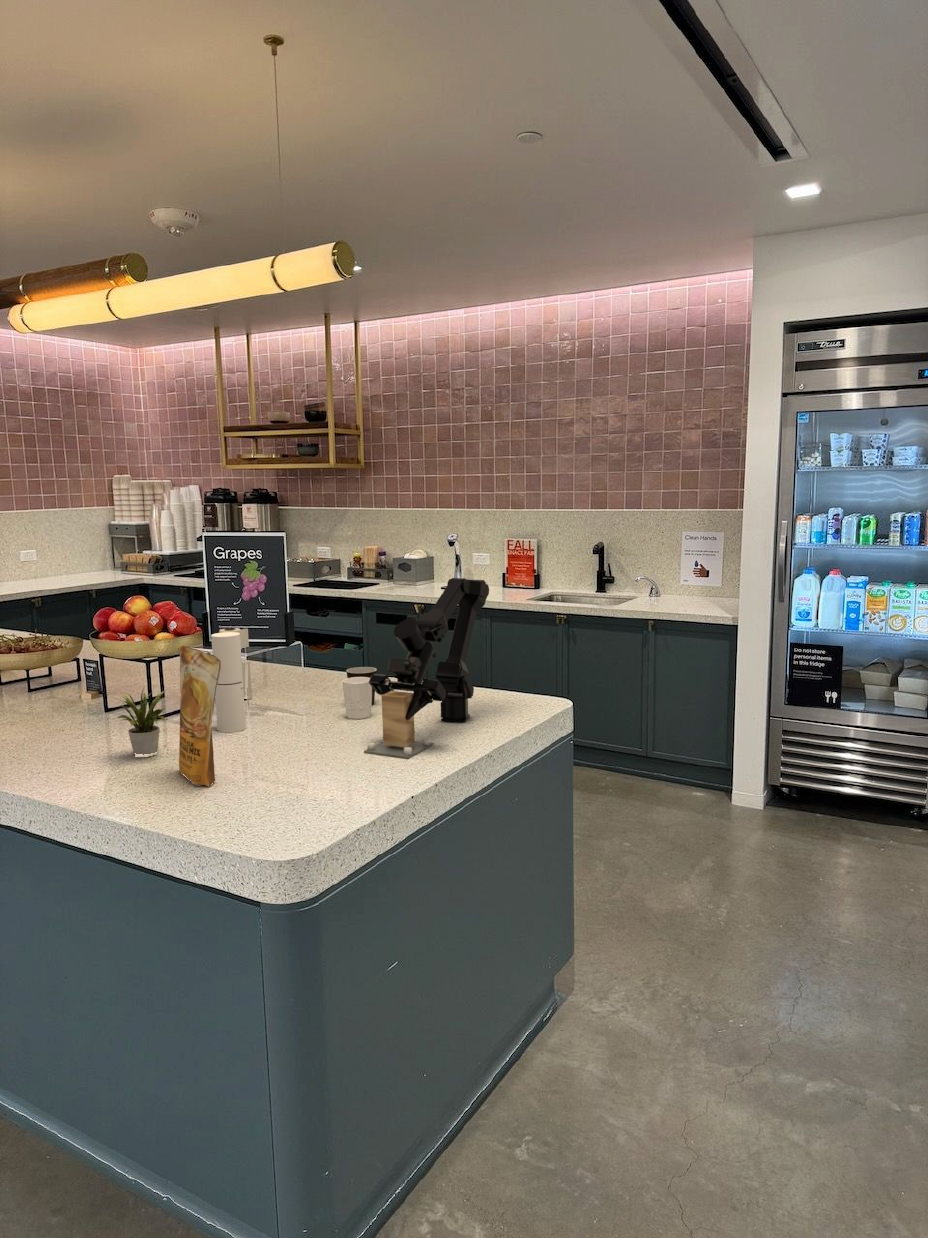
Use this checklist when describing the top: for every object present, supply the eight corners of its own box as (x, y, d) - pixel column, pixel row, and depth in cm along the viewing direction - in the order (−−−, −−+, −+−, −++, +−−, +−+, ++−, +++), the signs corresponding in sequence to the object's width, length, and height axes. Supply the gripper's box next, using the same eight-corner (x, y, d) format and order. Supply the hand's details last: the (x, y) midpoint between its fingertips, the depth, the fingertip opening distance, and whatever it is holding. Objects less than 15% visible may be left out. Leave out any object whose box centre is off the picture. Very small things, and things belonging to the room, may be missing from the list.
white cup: (375, 712, 249) (374, 676, 247) (370, 719, 241) (368, 683, 240) (347, 712, 250) (346, 676, 248) (341, 719, 242) (339, 683, 240)
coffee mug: (372, 708, 253) (371, 673, 252) (343, 707, 255) (342, 672, 253) (384, 698, 264) (383, 665, 263) (356, 697, 266) (355, 664, 265)
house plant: (104, 767, 205) (98, 697, 202) (111, 750, 218) (105, 684, 216) (170, 761, 209) (165, 692, 206) (173, 745, 222) (168, 680, 219)
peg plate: (390, 739, 222) (390, 731, 222) (433, 745, 217) (433, 736, 217) (363, 752, 212) (363, 744, 211) (408, 759, 206) (407, 750, 206)
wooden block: (393, 739, 218) (391, 691, 216) (414, 742, 215) (413, 693, 213) (383, 744, 214) (381, 695, 212) (405, 747, 211) (403, 697, 209)
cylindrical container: (211, 731, 234) (205, 635, 230) (230, 724, 240) (224, 631, 236) (232, 734, 230) (226, 637, 227) (251, 727, 237) (245, 633, 233)
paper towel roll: (219, 702, 264) (214, 630, 261) (230, 697, 270) (226, 627, 267) (241, 703, 262) (237, 631, 259) (252, 698, 268) (247, 627, 264)
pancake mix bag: (201, 763, 207) (193, 642, 202) (231, 785, 191) (222, 655, 187) (171, 769, 203) (162, 646, 199) (199, 791, 187) (190, 659, 183)
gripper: (371, 641, 218) (347, 696, 210) (438, 646, 210) (416, 703, 202) (389, 666, 226) (367, 720, 218) (455, 672, 218) (434, 728, 210)
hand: (395, 717), depth 212 cm, fingers closed on wooden block, 6 cm apart
